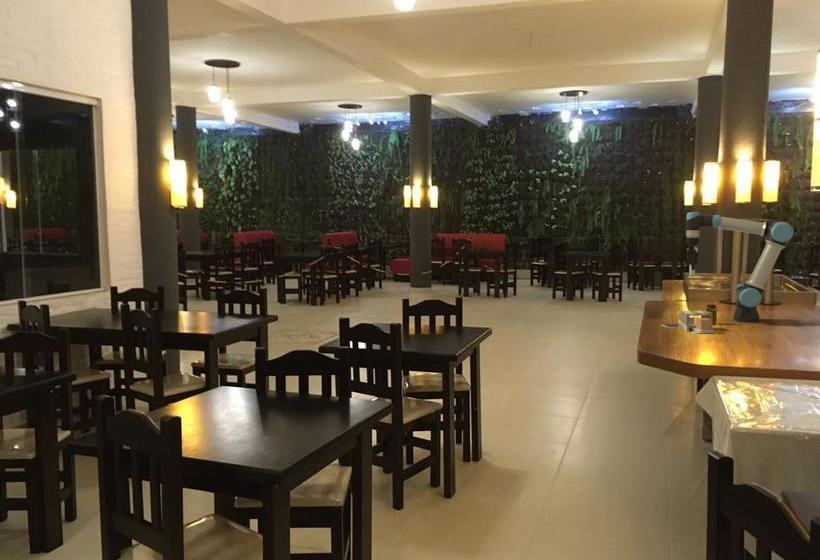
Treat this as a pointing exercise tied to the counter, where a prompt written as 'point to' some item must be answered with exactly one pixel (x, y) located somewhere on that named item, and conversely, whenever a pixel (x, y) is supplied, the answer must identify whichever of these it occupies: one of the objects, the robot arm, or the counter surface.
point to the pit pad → (671, 325)
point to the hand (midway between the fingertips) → (692, 275)
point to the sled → (701, 325)
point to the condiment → (713, 310)
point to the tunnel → (684, 315)
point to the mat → (697, 332)
